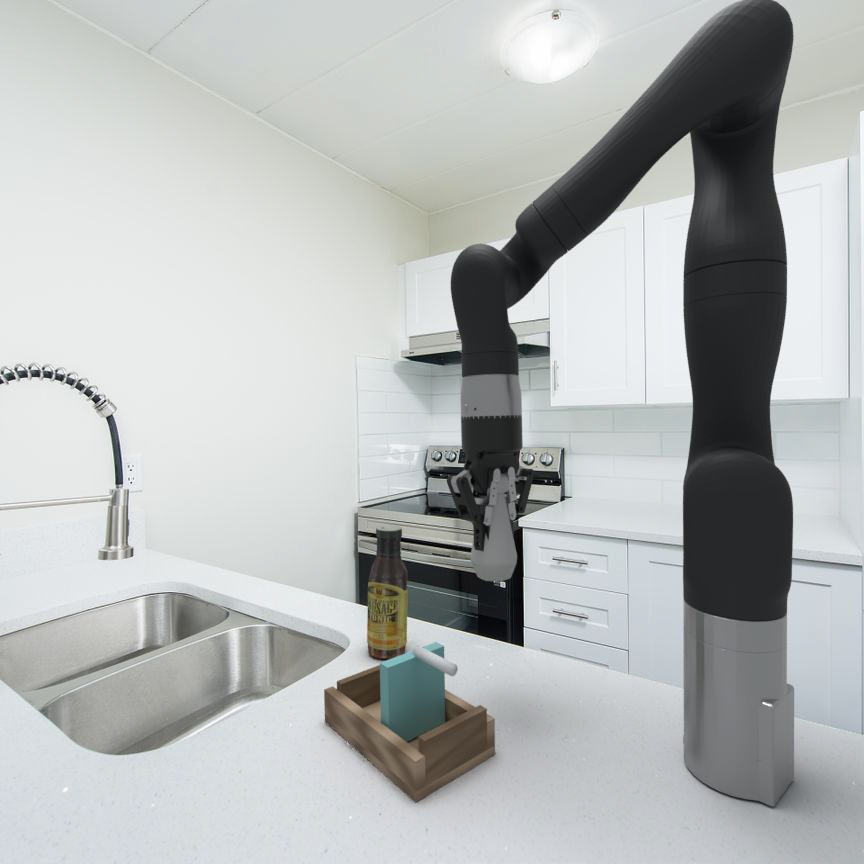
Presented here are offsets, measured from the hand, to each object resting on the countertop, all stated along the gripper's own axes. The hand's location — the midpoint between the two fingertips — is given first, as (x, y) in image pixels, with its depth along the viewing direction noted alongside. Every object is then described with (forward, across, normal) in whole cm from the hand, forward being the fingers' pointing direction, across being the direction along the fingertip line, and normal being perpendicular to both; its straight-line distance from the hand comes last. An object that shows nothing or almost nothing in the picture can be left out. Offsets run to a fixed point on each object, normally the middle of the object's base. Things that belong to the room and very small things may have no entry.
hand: (494, 551), depth 66 cm
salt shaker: (+3, 0, 0) cm, 3 cm away
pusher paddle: (+19, -12, -1) cm, 22 cm away
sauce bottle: (+20, -1, +23) cm, 30 cm away
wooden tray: (+20, -12, +3) cm, 24 cm away
